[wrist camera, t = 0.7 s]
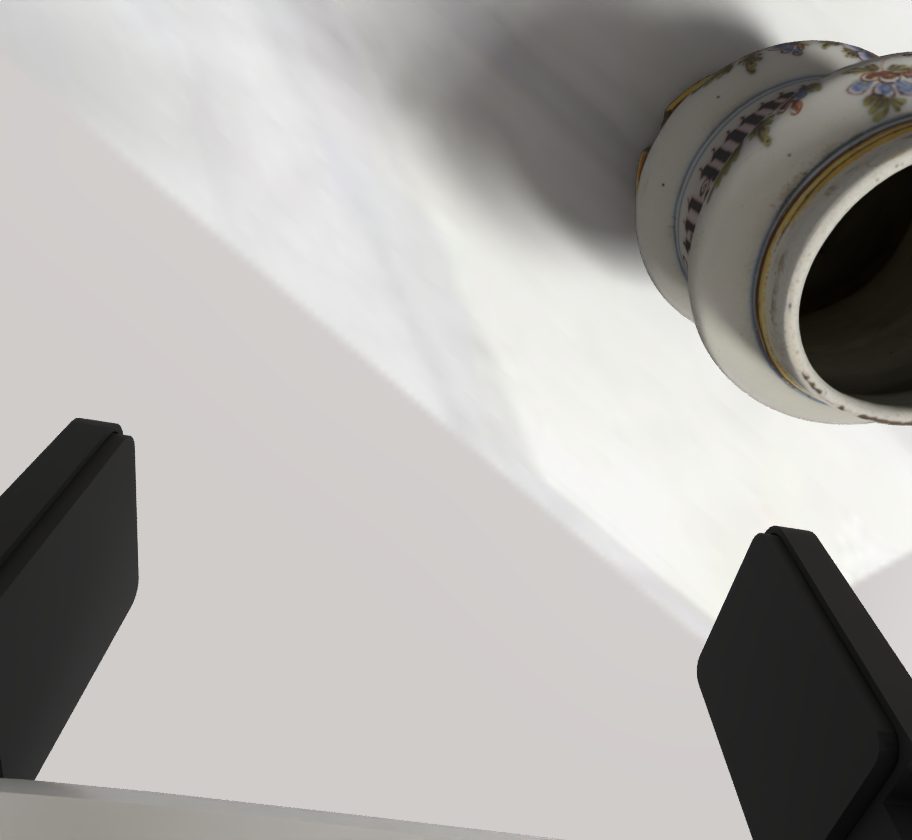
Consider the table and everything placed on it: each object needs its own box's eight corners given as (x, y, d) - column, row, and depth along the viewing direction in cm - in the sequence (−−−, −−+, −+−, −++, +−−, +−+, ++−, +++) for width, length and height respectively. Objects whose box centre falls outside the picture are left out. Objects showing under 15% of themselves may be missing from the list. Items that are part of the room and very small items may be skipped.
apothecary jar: (683, -6, 33) (892, -28, 17) (918, 93, 35) (1303, 157, 19) (572, 252, 38) (653, 417, 22) (781, 326, 40) (992, 528, 24)
